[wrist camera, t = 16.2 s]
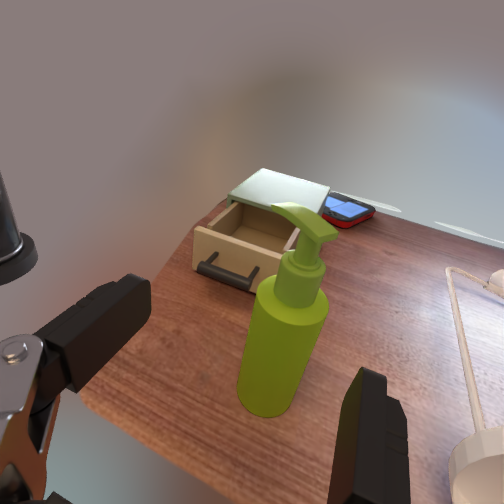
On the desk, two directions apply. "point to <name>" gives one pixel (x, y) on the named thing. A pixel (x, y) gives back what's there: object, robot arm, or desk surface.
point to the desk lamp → (476, 424)
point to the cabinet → (279, 191)
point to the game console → (345, 210)
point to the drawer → (243, 245)
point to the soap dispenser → (286, 318)
